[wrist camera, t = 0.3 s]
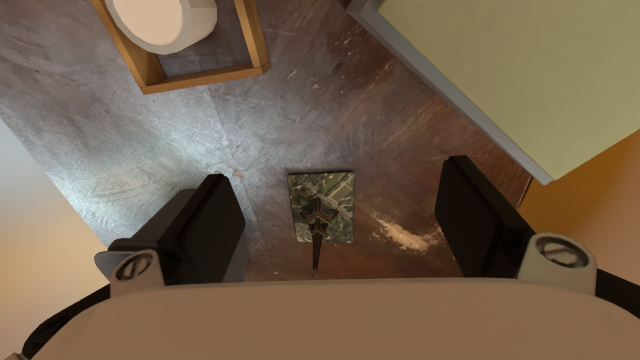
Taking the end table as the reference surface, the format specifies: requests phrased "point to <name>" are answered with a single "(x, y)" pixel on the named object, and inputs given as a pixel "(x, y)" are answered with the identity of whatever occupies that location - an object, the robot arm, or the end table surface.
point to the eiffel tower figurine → (322, 209)
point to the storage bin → (151, 235)
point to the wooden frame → (156, 81)
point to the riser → (437, 81)
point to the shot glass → (164, 22)
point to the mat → (536, 68)
